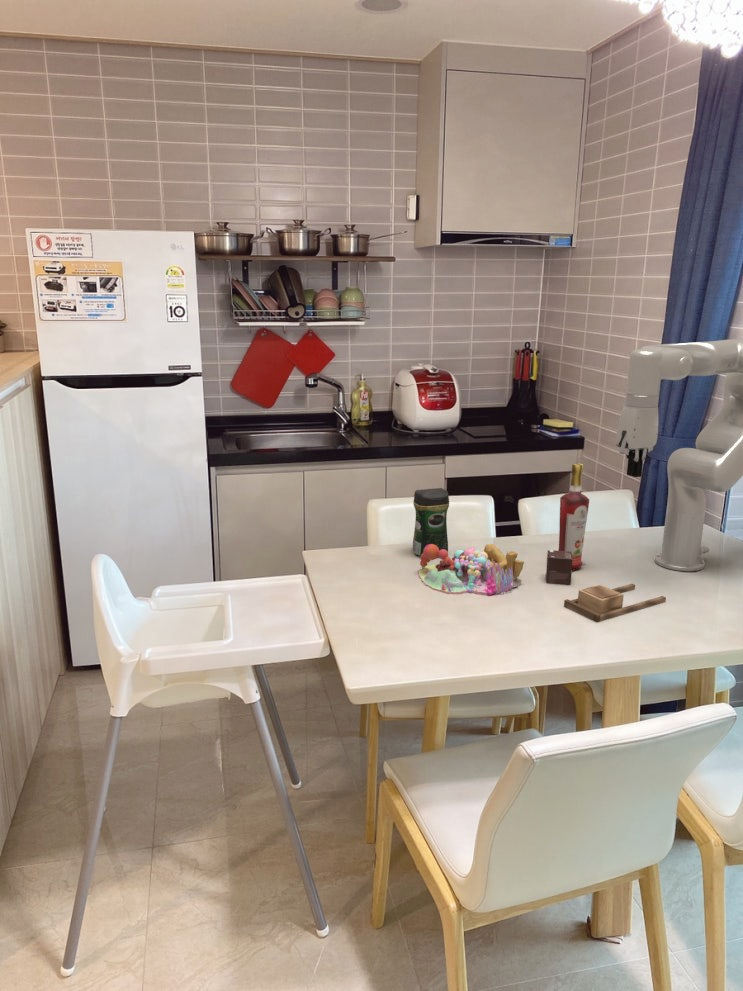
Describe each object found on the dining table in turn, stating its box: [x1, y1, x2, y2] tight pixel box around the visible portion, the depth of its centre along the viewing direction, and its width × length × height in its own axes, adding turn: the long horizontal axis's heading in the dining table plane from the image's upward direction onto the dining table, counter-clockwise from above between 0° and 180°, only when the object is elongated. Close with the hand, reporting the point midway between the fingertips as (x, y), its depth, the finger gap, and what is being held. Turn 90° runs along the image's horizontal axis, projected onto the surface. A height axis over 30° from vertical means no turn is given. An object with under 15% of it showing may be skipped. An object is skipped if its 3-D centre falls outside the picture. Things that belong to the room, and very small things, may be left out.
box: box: [545, 549, 573, 586], centre depth 193 cm, size 6×6×7 cm
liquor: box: [558, 462, 590, 571], centre depth 200 cm, size 7×7×28 cm
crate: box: [577, 584, 625, 614], centre depth 176 cm, size 7×7×4 cm
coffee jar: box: [412, 487, 450, 558], centre depth 210 cm, size 10×8×19 cm
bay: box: [563, 583, 667, 623], centre depth 179 cm, size 23×10×2 cm, turn 121°
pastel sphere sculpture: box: [418, 543, 525, 597], centre depth 193 cm, size 25×24×9 cm
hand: (633, 475), depth 189 cm, fingers closed
